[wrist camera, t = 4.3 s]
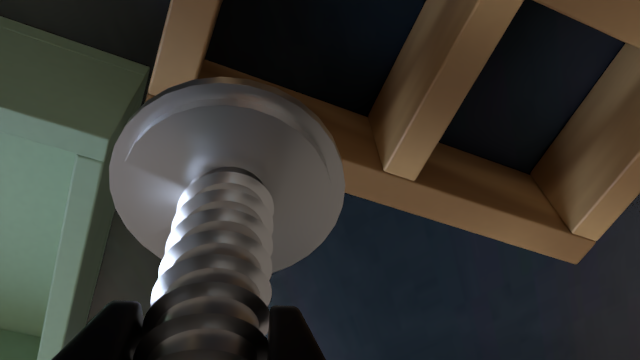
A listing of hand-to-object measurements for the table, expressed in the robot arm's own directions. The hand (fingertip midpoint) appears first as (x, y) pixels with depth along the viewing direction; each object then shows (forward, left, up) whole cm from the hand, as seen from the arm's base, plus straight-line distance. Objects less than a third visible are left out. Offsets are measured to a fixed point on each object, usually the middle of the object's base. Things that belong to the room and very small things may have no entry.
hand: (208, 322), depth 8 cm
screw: (0, 0, -6) cm, 6 cm away
